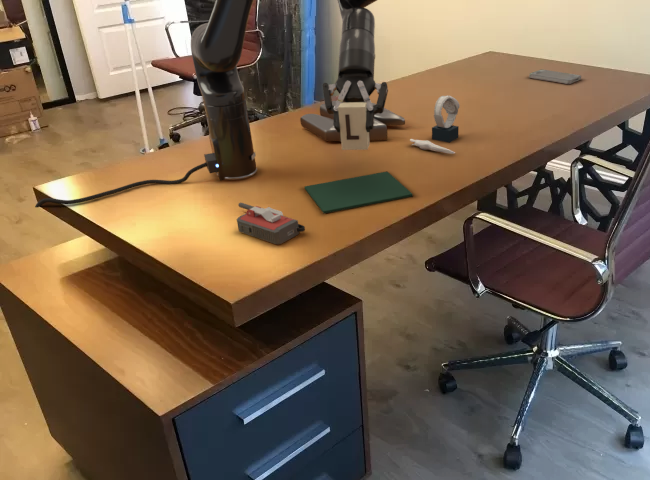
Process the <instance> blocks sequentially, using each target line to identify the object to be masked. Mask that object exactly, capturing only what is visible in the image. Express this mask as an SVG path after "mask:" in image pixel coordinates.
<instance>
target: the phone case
mask: <svg viewBox="0 0 650 480" xmlns="http://www.w3.org/2000/svg"><path fill="white" fill-rule="evenodd" d="M528 76H529V77H528V78H529V79H535V80H540V81H547V82H551V83H552V82H553V83H559V84H564V85H572V84H574V83H576V82H578V81H581V80H582V75H581V74H575V73H568V72H564V71H563V72H562V71H557V70H556V71H555V70H549V69H538V70H535V71H533V72H532V71H531V72H530V73H529V74H528Z"/></svg>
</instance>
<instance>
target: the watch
mask: <svg viewBox="0 0 650 480" xmlns="http://www.w3.org/2000/svg"><path fill="white" fill-rule="evenodd" d="M460 106H461V105H460V103H459V101H458V100H457V98H455V97H453V96H451V95H441V96H439V97H438V98H437V100H436V101H435V105H434V110H433V119H434V122H435V125H434V126H432V127H431V140H433V141H439V142H445V143H452V142H454V141H456V140H457V139H459V126H458V125H454V123H455V120H456V117H457V115H458V113H459V109H460ZM443 109H444V110H445V113H446V114H447V117H446V119H445V121H444V117H443V115H442V111H443Z"/></svg>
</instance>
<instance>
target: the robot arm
mask: <svg viewBox="0 0 650 480" xmlns="http://www.w3.org/2000/svg"><path fill="white" fill-rule="evenodd" d="M254 1H255V0H215V1H214V3H213V8H212V11H211V13H210V17H209V20H208V22H206V23H202V24H200V25H199V26H197V27H196V28H195V29H194V31H193V32H192V34H191V38H190V51H191V57H192V62H193V67H194V72H195V76H196V80H197V85H198V88H199V90H200V94H201V97H202V101H203V106H204V111H205V116H206V122H207V128H208V132H209V133H208V138H209V142H210V149H211V153H205V154H203V157H204V160H205V162H203V163H201V164H198V165H196V166H194V167H193V168H191V169H189V170H188V171H187V172H186V174H185V175H184V176H183V177H182V178H180V179H175V180H165V179H145V180H140V181H137V182H133V183H129V184H126V185H123V186H120V187H117V188H114V189H109V190H106V191H103V192H100V193H99V192H98V193H96V194H93V195H89V196H84V197H81V198H75V199H68V200H67V199H58V198H52V197H46V198H42V199H40V200H39V201H38V202H37V203H36V204H35V206H34V208H40V207H42V205H44V204H47V203H54V204H59V205H76V204H81V203H85V202H90V201H93V200H97V199H101V198H104V197H107V196H110V195H114V194H117V193H120V192H123V191H127V190H130V189H133V188H137V187H140V186H145V185H153V184H154V185H155V184H157V185H179V184H182V183H184V182H186V181H187V180H188V179H189V178H190V176H191V175H193V173H195V172H198V171H199V170H201V169H204V168H206V169H207V171H208V172H209V174H216V176H217V178H218V179H219V181H221V182H222V181H240V180H245V179H248V178H249V179H250V178H251V177H253V176H255V175H256V174H258V167H257V162H256V155H257V154H256V151H255V150H254V144H253V137H252V132H251V124H250V119H249V112H248V105H247V100H246V94H245V93H246V92H245V88H244V86H243V83H242V82H241V79H240V75H239V72H238V63H239V62H240V60H241V57H242V53H243V48H244V42H245V38H246V31H247V27H248V21H249V17H250V15H251V14H250V13H251V9H252V6H253V4H254ZM377 1H378V0H337V4H338V9H339V13H340V18H341V21H342V24H341V38H340V44H339V53H338V54H339V55H338V70H337V71H338V73H337V79H336V81H335V83H331V84H328V82H323V83H322V93H323V99H324V100H323V101H324V104H325V107H326V109H327V112H328V114H334V121H333V125H334V127H335V130H337V132H340V122H339V111H338V107H339V105H340V103H344V102H365V103H367V110H368V111H366V131H367V132H370V129H373V127H374V115H375V114H377V113H380V114H381V113H383V110H384V108H385V105H386V101H387V97H388V93H389V87H388V82H386V81H382V82H381V83H380V82H379V83H378V82H376V80H375V60H376V45H375V33H376V19H375V16H374V14H373V12H372V11H371V10H370V9H368V8H366V7H369V6H370V5H372V4H374V3H375V2H377ZM375 90H376V92H377V95H378V96H377V100H376V103H375V104H376V105H372V103H373V102H372V100H371V98H370V96H371V95H372V94H373V93H374V91H375ZM335 91H337V92H338V94H339V95H338V97H337V100H336V101H337V103H336V105H335V106H333V105H332V101H333V100H332V96H334V94H335Z"/></svg>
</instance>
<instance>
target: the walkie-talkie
mask: <svg viewBox="0 0 650 480" xmlns="http://www.w3.org/2000/svg"><path fill="white" fill-rule="evenodd" d="M237 205H238V207H239V208H241V209H243V210H246V211H245V213H243V214H242V215H240V216H238V217H237V218H236V225H237V229H238V232H239V233H242V234H245V235H248V236H251V237H253V238H256V239H259V240H262V241H264V242H268V243H270V244H274V245H282V244H284V243H286V242H288V241H290V240H291V239H293V238H295V237H296V236H298V235H300V233H303V232H305V230H306V226H305V225H303V224H299V221H298V219H294V218H292V217H288V216H284V213H283V211H281V210H278V209H275V208H272V207H270V206H267V207H266V208H264V207H261V206H257V205H255V206H253V205H250V204H248V203H244V202H238V204H237Z"/></svg>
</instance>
